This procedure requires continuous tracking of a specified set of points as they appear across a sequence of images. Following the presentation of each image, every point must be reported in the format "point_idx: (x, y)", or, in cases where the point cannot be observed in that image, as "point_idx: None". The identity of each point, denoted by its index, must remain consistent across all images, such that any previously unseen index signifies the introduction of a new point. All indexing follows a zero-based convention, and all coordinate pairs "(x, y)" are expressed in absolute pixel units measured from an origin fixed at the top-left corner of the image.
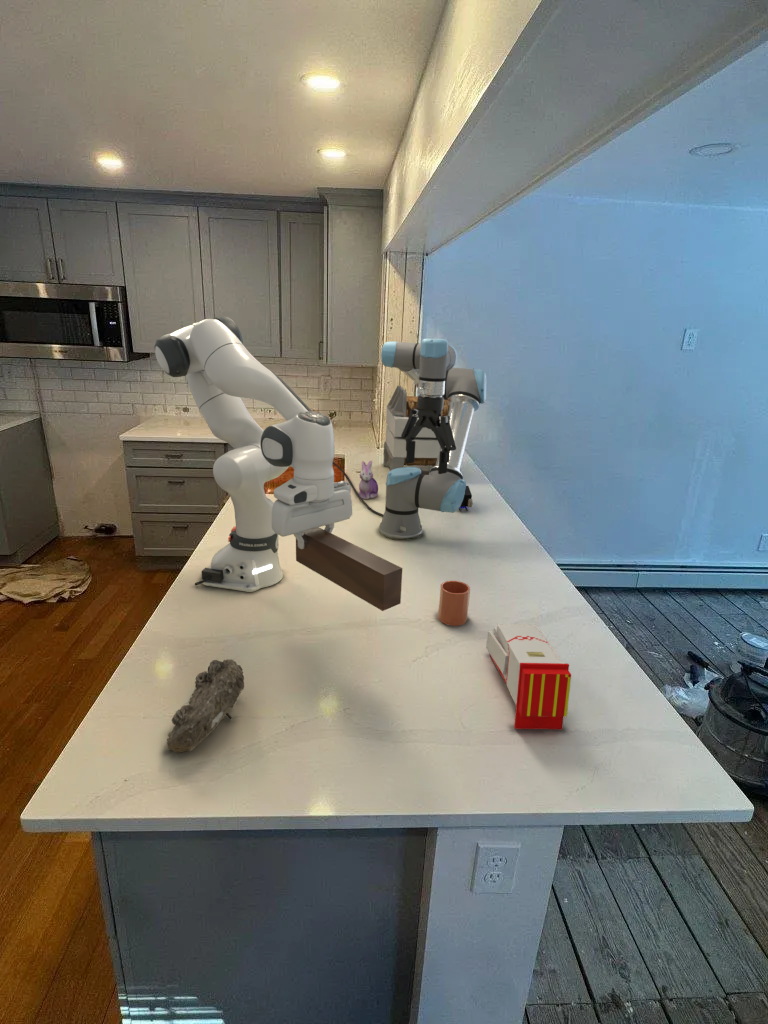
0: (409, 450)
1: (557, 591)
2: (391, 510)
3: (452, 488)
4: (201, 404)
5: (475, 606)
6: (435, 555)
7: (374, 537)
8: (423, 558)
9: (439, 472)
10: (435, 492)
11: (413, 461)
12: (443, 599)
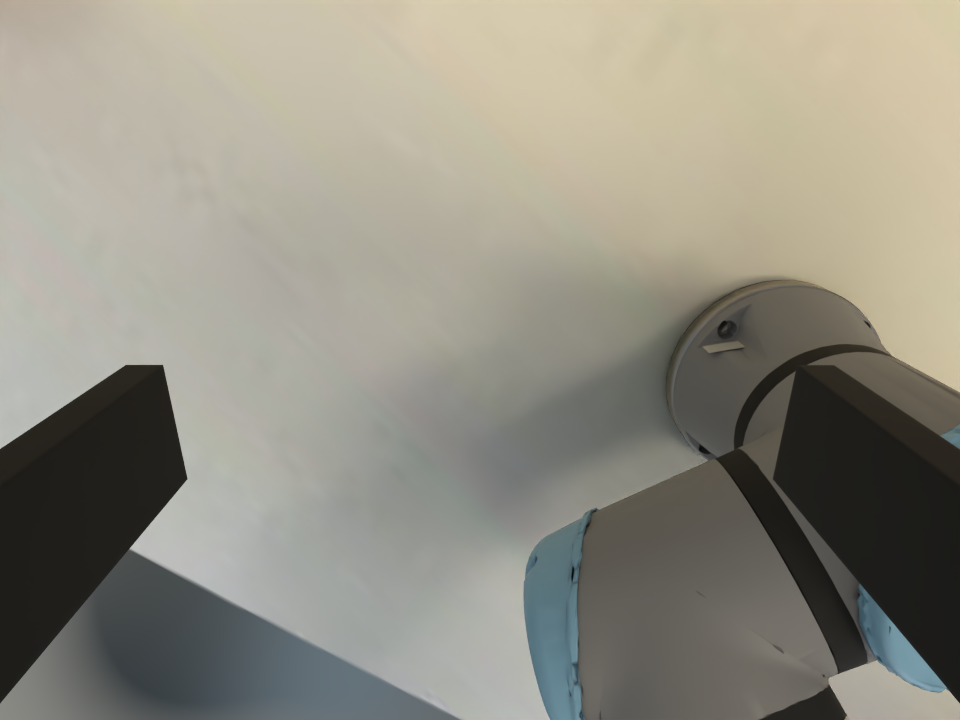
0: (933, 499)
1: None
2: (840, 351)
3: (561, 638)
4: None
5: (30, 105)
6: (488, 326)
7: (814, 238)
8: (497, 262)
9: (127, 373)
10: (642, 552)
11: (781, 473)
12: None
